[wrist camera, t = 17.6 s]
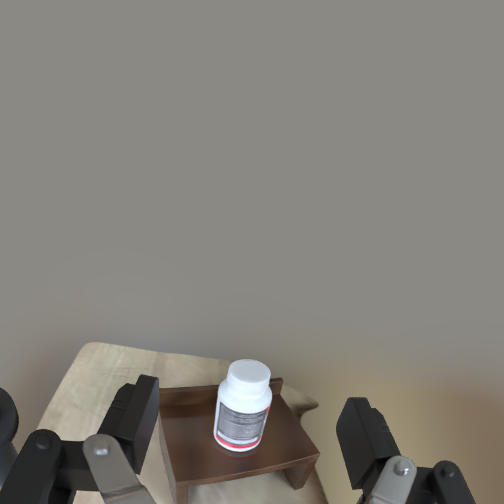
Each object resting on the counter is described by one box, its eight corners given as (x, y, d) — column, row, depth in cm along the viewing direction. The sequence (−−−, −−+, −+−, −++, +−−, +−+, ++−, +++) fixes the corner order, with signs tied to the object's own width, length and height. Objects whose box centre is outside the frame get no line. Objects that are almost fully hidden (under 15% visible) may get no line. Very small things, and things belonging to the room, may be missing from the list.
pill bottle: (269, 446, 30) (288, 382, 27) (222, 457, 27) (233, 392, 25) (249, 415, 34) (262, 351, 32) (206, 423, 32) (213, 357, 30)
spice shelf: (177, 513, 25) (174, 469, 23) (159, 441, 36) (156, 388, 33) (302, 487, 31) (327, 440, 29) (267, 428, 42) (281, 377, 39)
